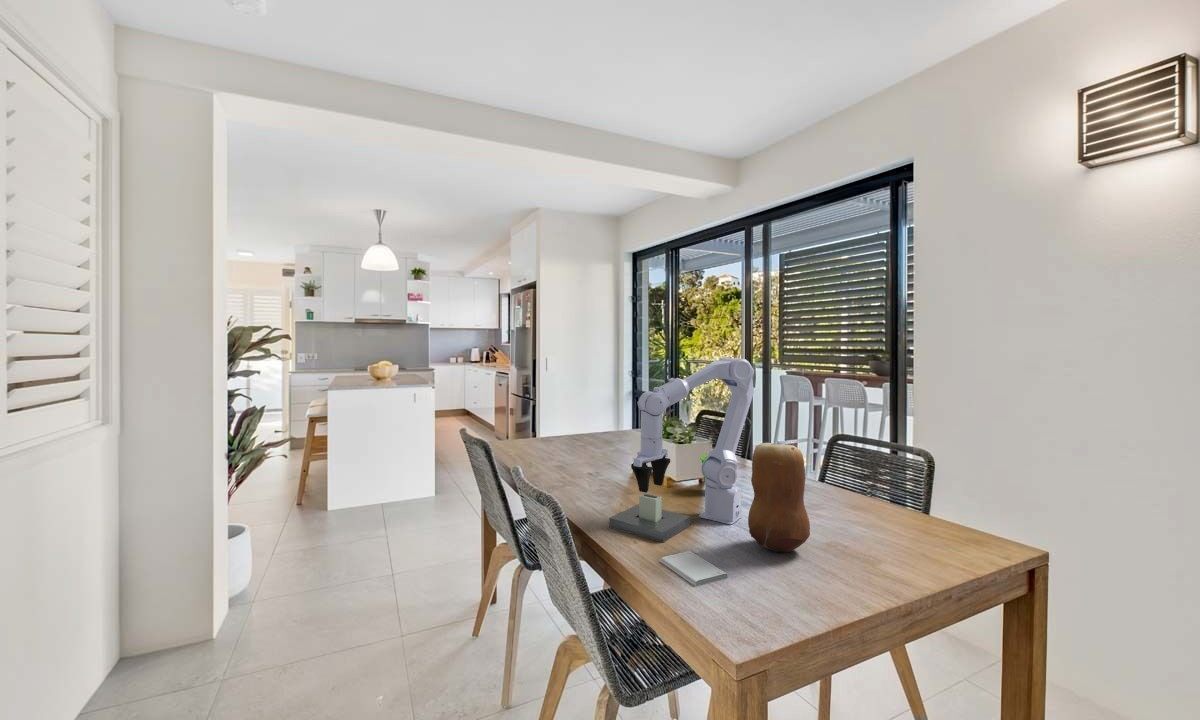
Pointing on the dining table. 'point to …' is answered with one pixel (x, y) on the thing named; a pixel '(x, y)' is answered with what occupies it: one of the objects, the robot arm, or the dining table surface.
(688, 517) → the key plate
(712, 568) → the hard drive
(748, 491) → the dining table surface
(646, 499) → the keyed block
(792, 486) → the butternut squash
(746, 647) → the dining table surface
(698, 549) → the dining table surface
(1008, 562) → the dining table surface
